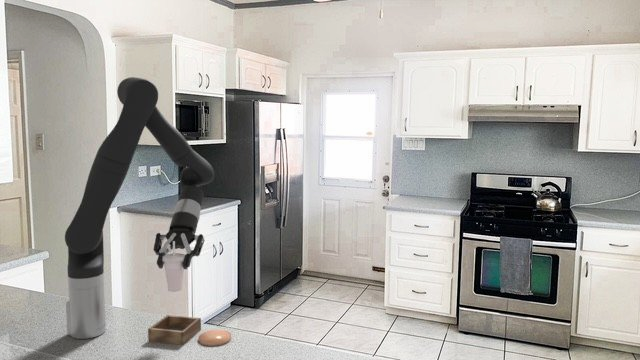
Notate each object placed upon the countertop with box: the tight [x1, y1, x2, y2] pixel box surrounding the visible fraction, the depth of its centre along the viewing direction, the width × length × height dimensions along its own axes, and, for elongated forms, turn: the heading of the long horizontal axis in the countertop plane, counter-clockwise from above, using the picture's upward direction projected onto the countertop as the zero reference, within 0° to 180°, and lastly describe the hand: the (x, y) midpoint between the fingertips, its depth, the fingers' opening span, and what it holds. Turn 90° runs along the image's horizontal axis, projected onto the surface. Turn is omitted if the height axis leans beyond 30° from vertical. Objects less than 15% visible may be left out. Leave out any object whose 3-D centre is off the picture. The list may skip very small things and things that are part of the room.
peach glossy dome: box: [198, 329, 233, 347], centre depth 140 cm, size 9×9×1 cm
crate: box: [147, 314, 202, 346], centre depth 142 cm, size 11×11×4 cm
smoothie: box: [163, 241, 185, 293], centre depth 140 cm, size 6×6×14 cm
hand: (172, 267), depth 139 cm, fingers closed on smoothie, 6 cm apart
